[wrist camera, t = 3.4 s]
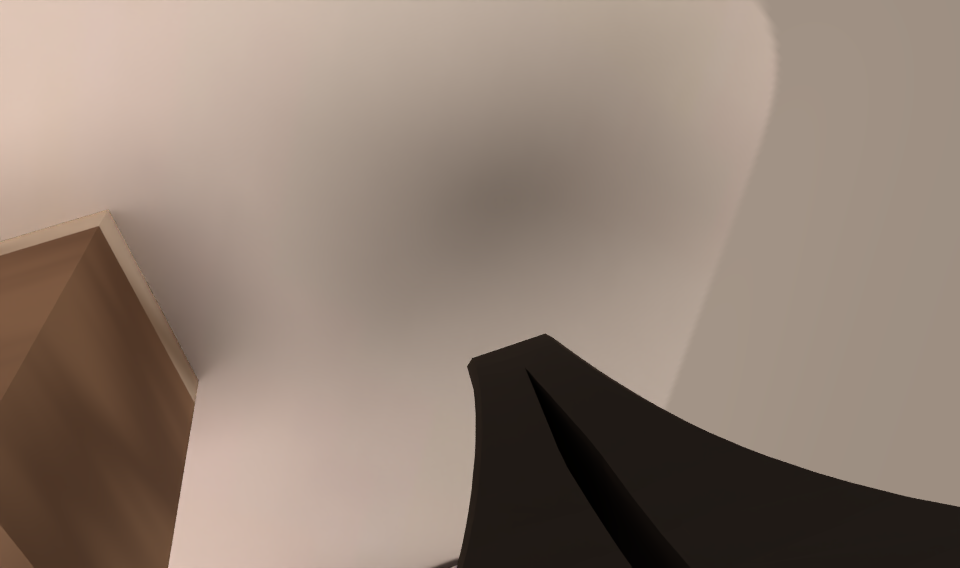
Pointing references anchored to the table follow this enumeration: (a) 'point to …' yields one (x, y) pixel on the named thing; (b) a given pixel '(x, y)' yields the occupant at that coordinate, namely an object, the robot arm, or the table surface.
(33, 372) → the walnut block
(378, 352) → the table surface
